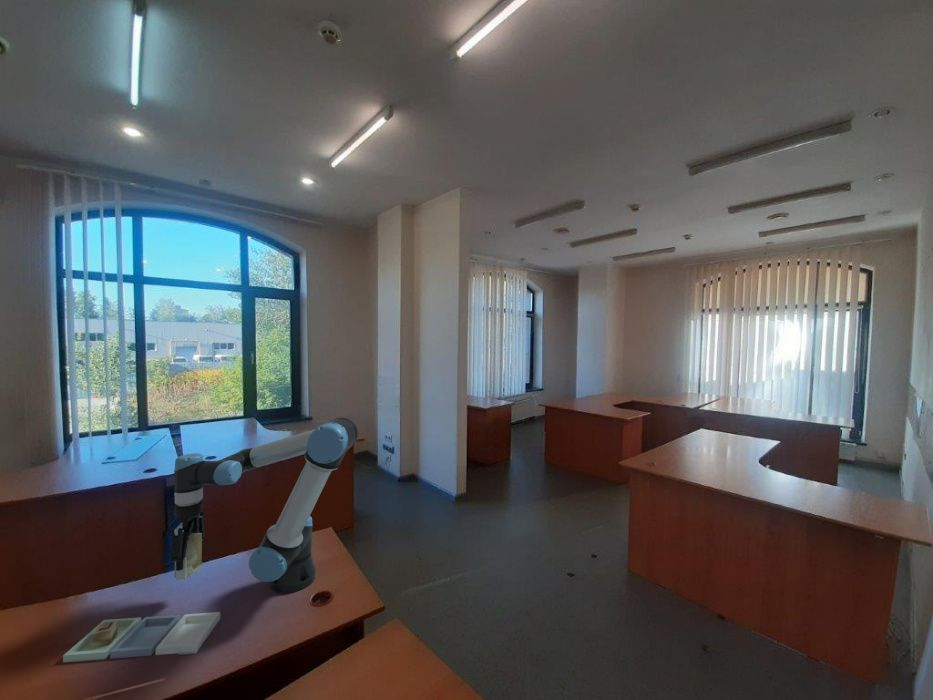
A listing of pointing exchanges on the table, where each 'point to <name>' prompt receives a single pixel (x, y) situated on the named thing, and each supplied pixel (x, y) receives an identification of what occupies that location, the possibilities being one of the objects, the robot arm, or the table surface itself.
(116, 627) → the letter cube
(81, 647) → the tray
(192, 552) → the skincare box
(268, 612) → the table surface
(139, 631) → the tray
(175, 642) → the tray
